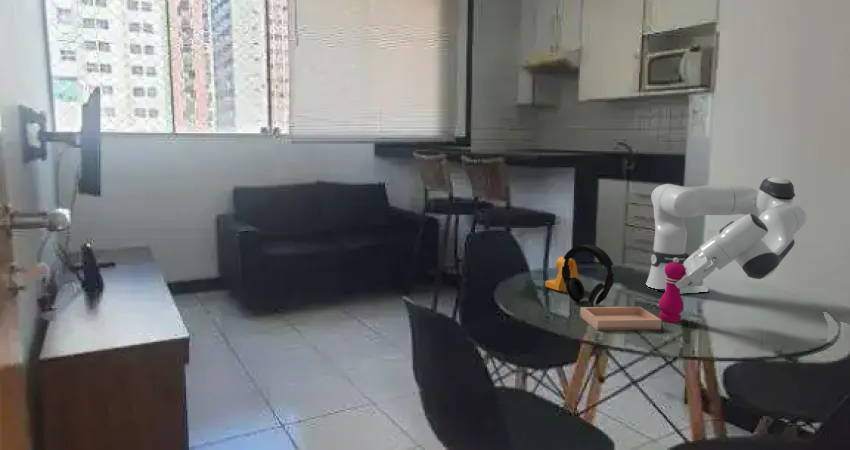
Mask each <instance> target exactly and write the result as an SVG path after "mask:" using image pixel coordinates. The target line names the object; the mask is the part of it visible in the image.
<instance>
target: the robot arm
mask: <svg viewBox="0 0 850 450" xmlns="http://www.w3.org/2000/svg"><path fill="white" fill-rule="evenodd" d="M758 189H759V191H757V189H754V188H753V187H750V186H744V185H736V184H735V185H733V184H731V185H729V184H727V185H725V184H720V185H719V184H718V185H717V184H716V185H712V184H709V185H708V184H707V185H699V186H682V185H677V184H672V183H665V184H661V185H659V186H657V187H655V188H654V190H653V189H652V190H653V191H652V192H651V197H650V200H651V204H652V205H653V216H654V229H655V230H654V231H655V232H654V238H653V239H654V240H653V241H654V242H653V249H651V250H652V251H651V257H650V268H649V269H650V270H649V273H648V277H647V280H646V283H645V284H646V285H647V286H648V287H651V288H655V289H665V290H666V281H665V280H666V278H665V277H667V275H666V274H665V266H666V265H667V264H668V263H671V262H673V259H674V258H678V259H679V262H678V263H680V264H682V265H683V266H684V267H685V275H684V276H683V277H682V279H681V280H679V281H677V282H676V283H675V285H676V287H677V288H687V287H694V286H702V285H703V286H704V280H705V279H706V278H707V277H708V276H709V275H710V274H713V272H715V270H716V268H717V269H718V270H719V271H720V270H722V269H723V268H725V267H726V266H727V265H729V264H730V263H732V262H733V261H735V262H736V263H737V264H738V265H739V266H740V268H742V270H743V272H744V273H745V274H746V275H747V277H748V278H752V279H755V280H756V279H757V280H762V279H765V278H766V277H769V276H770V275H772V274H773V273H774V272H775V271H776V270H777V268H778V266H779V265H780V263H781V262H783V261H782V260H784V258H785V257H786V256H787V255H788V254H789V253H790V251H791V250H792V249H793V247H794V246H795V244H796V243H795V238H794V234H796V233H797V232H798V231H800V230H801V229H802V228H803V226H804V225H805V224H806V221H807V214H806V211H805V210H804V209H803V207H802V206H800V205H797V204H795V203H793V201H794V197H796V194H795V187H794V184H793V183H792V182H791V181H790V180H789V179H786V178H785V177H780V176H773V177H771V176H770V177H766V178H765V179H763V180H762V182H761V184H760V185H759V188H758ZM734 215H736V216H737V215H744V216H742V217H740V218H738V219H736V220H735V221H733V220H731V221H730V222H728V223H727V224H726V225H724V226H723V227H721V228H720V230H719V233H718V234H717V235H715V236H712V237H711V238H709V239H708V240H707V241H704V242H703V243H701V244H700V245H699V247H698V249H697V250H695V251H694V252H693V253H692V254H691V253H690V254H688V253H687V252H686V248H687V246H686V245H687V240H688V239H687V238H688V231H687V228H686V224H685V219H684V218H695V217H701V216H734ZM648 287H647V288H648Z"/></svg>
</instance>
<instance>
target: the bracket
mask: <svg viewBox="0 0 850 450" xmlns="http://www.w3.org/2000/svg"><path fill="white" fill-rule="evenodd" d="M564 262H565V259H564V256H560V257H558V258H557V260H556V263H555V266H556V267H555V268H556V270H558V272H557V275H556V278H554V279H550V280H545V282H544V283H545V284H544V285H545V288H550V289H552V290H556V291H558V292H563V293H565V292H567V290H566V286H565V283H564V279H563V277H562V267H563V266H564ZM568 265H569V269H570V278H573V277H575V278H577V279H579V280H580V277H579V271H578V267H577V263H576V260H575V259H573V258H570V259H569V262H568Z"/></svg>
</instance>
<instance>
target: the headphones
mask: <svg viewBox="0 0 850 450" xmlns="http://www.w3.org/2000/svg"><path fill="white" fill-rule="evenodd" d="M582 252H585V253H589V254H591V255H593V256H594V257H595V258H596V259H597V261H598V263H600V264H601V266H603V267H604V268H606V271H607V274H606V279H605V281H604V283H601V282H600V283H597V284H596V285H595V286H594V287H593V288H592V290H591V291H590V293H589V295H588V299H587V300H588V302H589V303H590V305H591V307H598V306H599V305H600V304H601V303H602V302H603V301H605V300H606V299H607V296H608V294H609V292H610V290H611V289H612V287H613V285H614V281H615V280H614V272H613V271H612V266H614V263H613V261H612V259H611V258H610V256H609V254H608V253H607V252H606V251H604V250H603V249H601V248H600V247H599V246H596V245H594V244H593V245H592V244H583V245H577V246H574V247H573V248H570V249H569V250H568V251H567V252H566V253H565V254H564V256H563V257H564V259H565V262H564V266H563V267H562V277H563V279H564V283H565V286H566V290H567V291H566V292H567V295H568V296H569V299H571V300H573V302H575V303H578V302H580V301H581V300H583V299H584V297H585V293H586V292H585V291H586V290H585V286H584V285H583V283H582V281H581V280H580V278H579V279H577V278H575V277H573V278H570V269H569V265H568V262H569V259H573V258H575V257H576V256H579V254H581V253H582Z"/></svg>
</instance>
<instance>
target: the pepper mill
mask: <svg viewBox="0 0 850 450" xmlns="http://www.w3.org/2000/svg"><path fill="white" fill-rule="evenodd" d="M678 262H679V259H678V258H674V259H673V262H671V263H668V264H667V265H666V266H665V274H666V275H667V277H665V278H666V280H665V281H666V290H665V292H663V294H662V296H661V298H660V299H659V301H658V302H659V303H658V307H659V310H660V312H659V313H658V316H659V317H658V318H660V319H661V320H662V322H666V323H673V324H674V323H675V322H677V323H680V322H681V319H682V315H681V314H680V313H683V311H684V302H683V298H682V295H680V288H677V287H676V285H675V283H676V282H677V281H679V280H681V279H682V277H683V276H684V275H685V267H684V266H683V265H682V264H680V263H678ZM679 321H680V322H679Z"/></svg>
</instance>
